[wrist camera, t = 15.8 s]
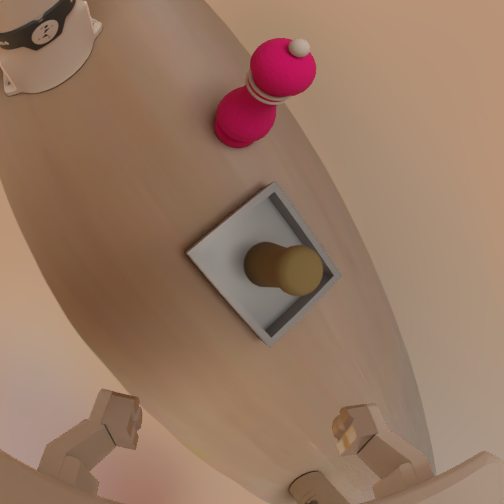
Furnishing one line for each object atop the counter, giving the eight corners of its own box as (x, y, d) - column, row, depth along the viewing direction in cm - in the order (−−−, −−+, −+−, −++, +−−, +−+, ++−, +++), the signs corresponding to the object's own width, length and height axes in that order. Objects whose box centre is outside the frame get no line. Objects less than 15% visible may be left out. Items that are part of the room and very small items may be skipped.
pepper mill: (237, 97, 36) (300, 7, 17) (270, 133, 38) (355, 61, 19) (200, 123, 34) (242, 26, 15) (235, 161, 36) (308, 90, 17)
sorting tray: (184, 252, 34) (186, 252, 31) (265, 186, 38) (275, 180, 34) (260, 339, 38) (270, 347, 35) (328, 273, 41) (341, 276, 38)
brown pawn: (294, 267, 38) (341, 275, 28) (261, 296, 37) (300, 315, 27) (269, 232, 37) (312, 228, 27) (234, 260, 36) (265, 267, 25)
